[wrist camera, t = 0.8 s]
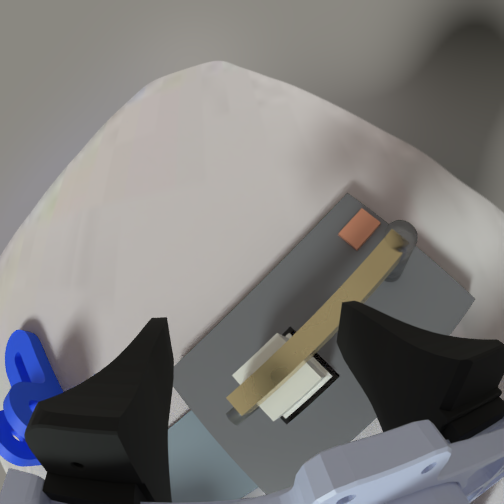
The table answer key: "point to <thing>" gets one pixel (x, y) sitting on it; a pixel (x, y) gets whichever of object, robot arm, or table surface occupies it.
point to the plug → (290, 391)
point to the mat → (202, 465)
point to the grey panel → (293, 318)
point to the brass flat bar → (328, 317)
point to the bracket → (24, 394)
